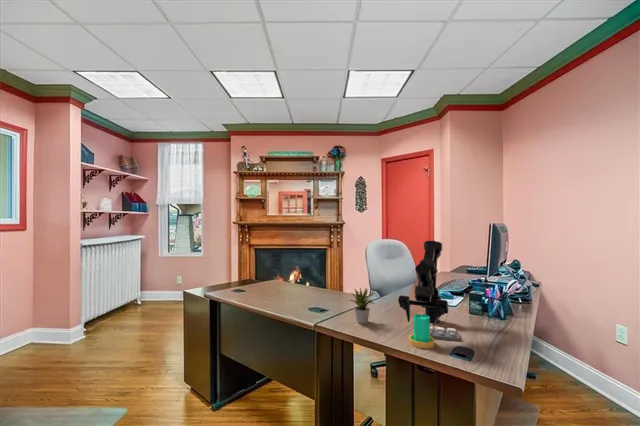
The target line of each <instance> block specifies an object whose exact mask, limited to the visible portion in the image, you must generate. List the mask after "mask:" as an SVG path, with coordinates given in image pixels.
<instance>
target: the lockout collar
mask: <svg viewBox="0 0 640 426" xmlns="http://www.w3.org/2000/svg"><path fill="white" fill-rule="evenodd" d="M408 344H409V345H411V346H412V347H415V348H418V349H432V348H434V347H435V339H434V338H432V337H431V336H430V342H418V341H414V333H412V334H410V335H408Z"/></svg>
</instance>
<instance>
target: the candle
mask: <svg viewBox="0 0 640 426" xmlns="http://www.w3.org/2000/svg"><path fill="white" fill-rule="evenodd" d="M430 324H431V322H430V316H428V315H425V313H424V314H423V313H421V314H419V313H417V314H414V315H413V334H414V341H418V342H430V327H431V325H430Z"/></svg>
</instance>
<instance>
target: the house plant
mask: <svg viewBox="0 0 640 426" xmlns="http://www.w3.org/2000/svg"><path fill="white" fill-rule="evenodd" d="M353 289H354V292H355V293H353V292H351V291H350V293H351V294H352V296H353V297H354V298H355V299H354V300H353V299H350V300H349V302H353V303H355V304H356V305H357V306H356V307H354V313H355V320H356V323H357V324H363V325H364V324H368V322H369V316H370V307H368V305H369V304H372V305H375V303H374V302H373V298H371V299H370V297H372V296H374V295H376V292H378V290H377V291H376V290H375V291H372V292H370V293H369V294H368V291H369V289H368V288H367V287H365V289H364V291H362V289H361V287H359V291H358V290H357V289H356V288H353Z"/></svg>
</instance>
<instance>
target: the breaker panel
mask: <svg viewBox="0 0 640 426" xmlns="http://www.w3.org/2000/svg"><path fill="white" fill-rule="evenodd" d="M430 336H431V337H432V338H434V340H435V339H436V340H445V341H454V342H455V341H456V342H461V336H460V335H459V332H458V330H456V328H451V327H447V328H444V327H443V326H442V327H439V326H435V327H433V326H430Z"/></svg>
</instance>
